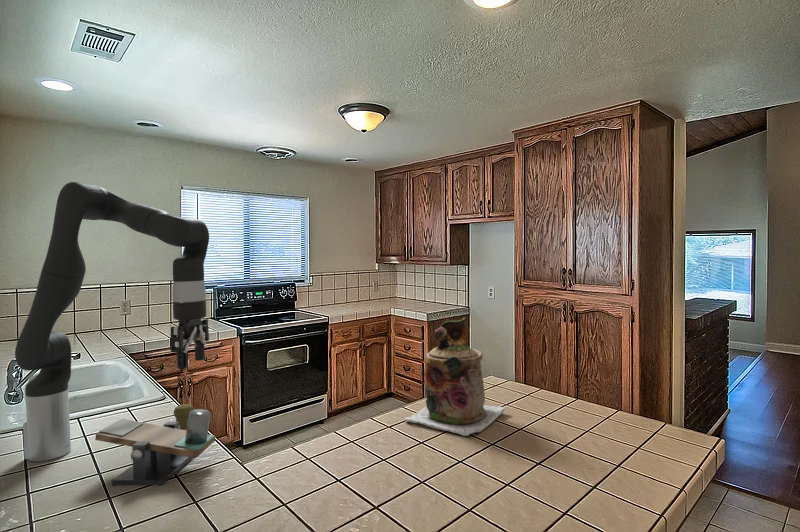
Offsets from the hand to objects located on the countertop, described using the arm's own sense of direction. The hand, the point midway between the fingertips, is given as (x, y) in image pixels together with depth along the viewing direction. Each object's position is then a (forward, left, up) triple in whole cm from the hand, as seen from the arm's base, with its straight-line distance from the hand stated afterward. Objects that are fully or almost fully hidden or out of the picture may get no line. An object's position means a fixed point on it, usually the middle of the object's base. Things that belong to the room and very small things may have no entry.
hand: (191, 364), depth 114 cm
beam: (-10, 0, -19) cm, 21 cm away
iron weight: (0, 0, -19) cm, 19 cm away
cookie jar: (+67, +34, -26) cm, 80 cm away
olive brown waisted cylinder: (-11, +15, -26) cm, 32 cm away
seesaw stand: (-10, 0, -26) cm, 28 cm away
